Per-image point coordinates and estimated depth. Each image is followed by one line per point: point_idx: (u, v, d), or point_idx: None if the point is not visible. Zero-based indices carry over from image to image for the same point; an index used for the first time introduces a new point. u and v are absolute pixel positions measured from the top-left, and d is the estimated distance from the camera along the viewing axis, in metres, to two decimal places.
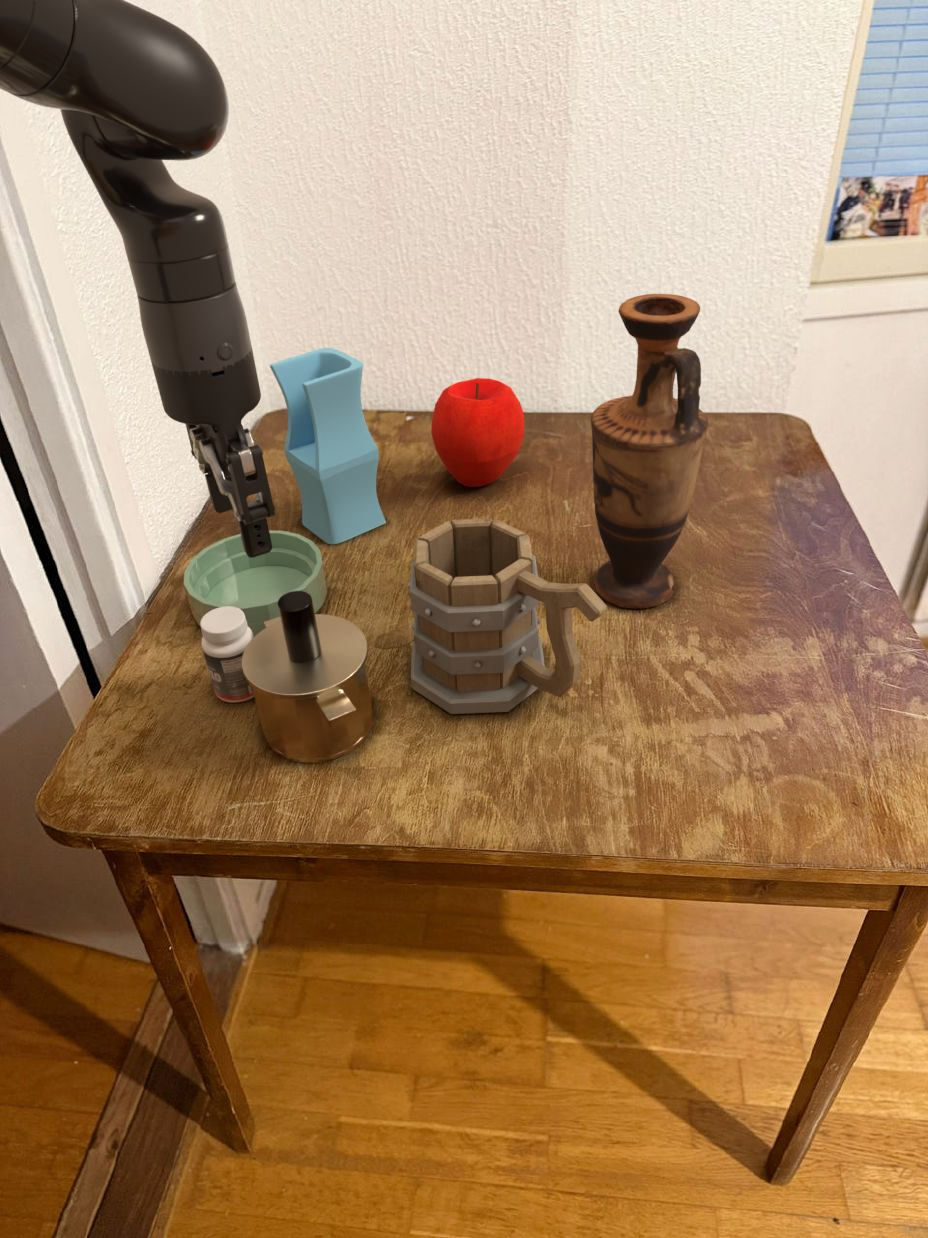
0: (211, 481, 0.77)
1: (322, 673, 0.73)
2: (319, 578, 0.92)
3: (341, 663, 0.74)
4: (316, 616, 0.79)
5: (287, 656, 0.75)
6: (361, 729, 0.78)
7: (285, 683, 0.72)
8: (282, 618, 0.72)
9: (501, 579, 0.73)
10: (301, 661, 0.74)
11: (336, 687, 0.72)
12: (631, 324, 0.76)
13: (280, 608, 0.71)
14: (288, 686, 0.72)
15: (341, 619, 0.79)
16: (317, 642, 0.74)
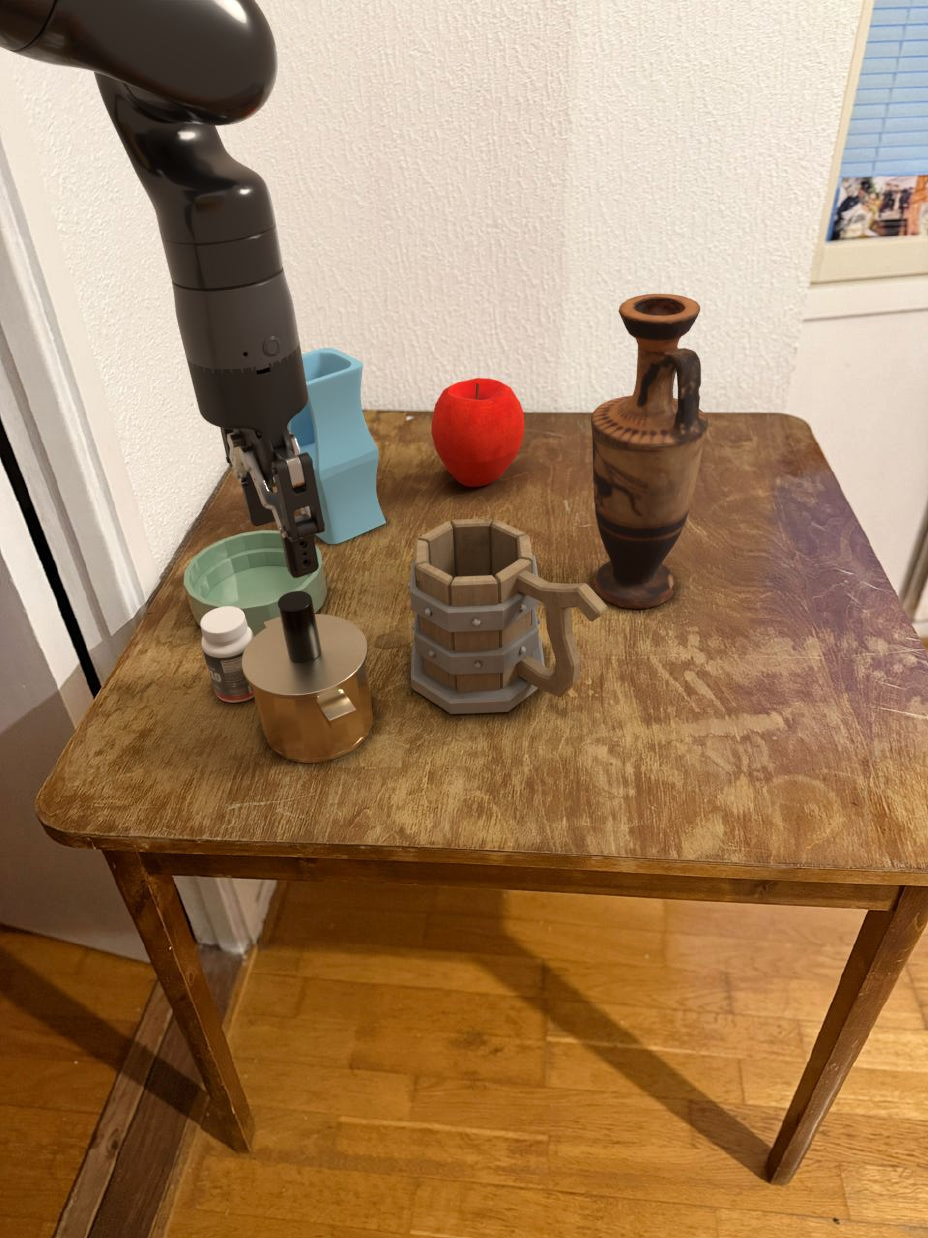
0: (248, 491, 0.69)
1: (322, 673, 0.73)
2: (319, 578, 0.92)
3: (341, 663, 0.74)
4: (316, 616, 0.79)
5: (287, 656, 0.75)
6: (361, 729, 0.78)
7: (285, 683, 0.72)
8: (282, 618, 0.72)
9: (501, 579, 0.73)
10: (301, 661, 0.74)
11: (336, 687, 0.72)
12: (631, 324, 0.76)
13: (280, 608, 0.71)
14: (288, 686, 0.72)
15: (341, 619, 0.79)
16: (317, 642, 0.74)
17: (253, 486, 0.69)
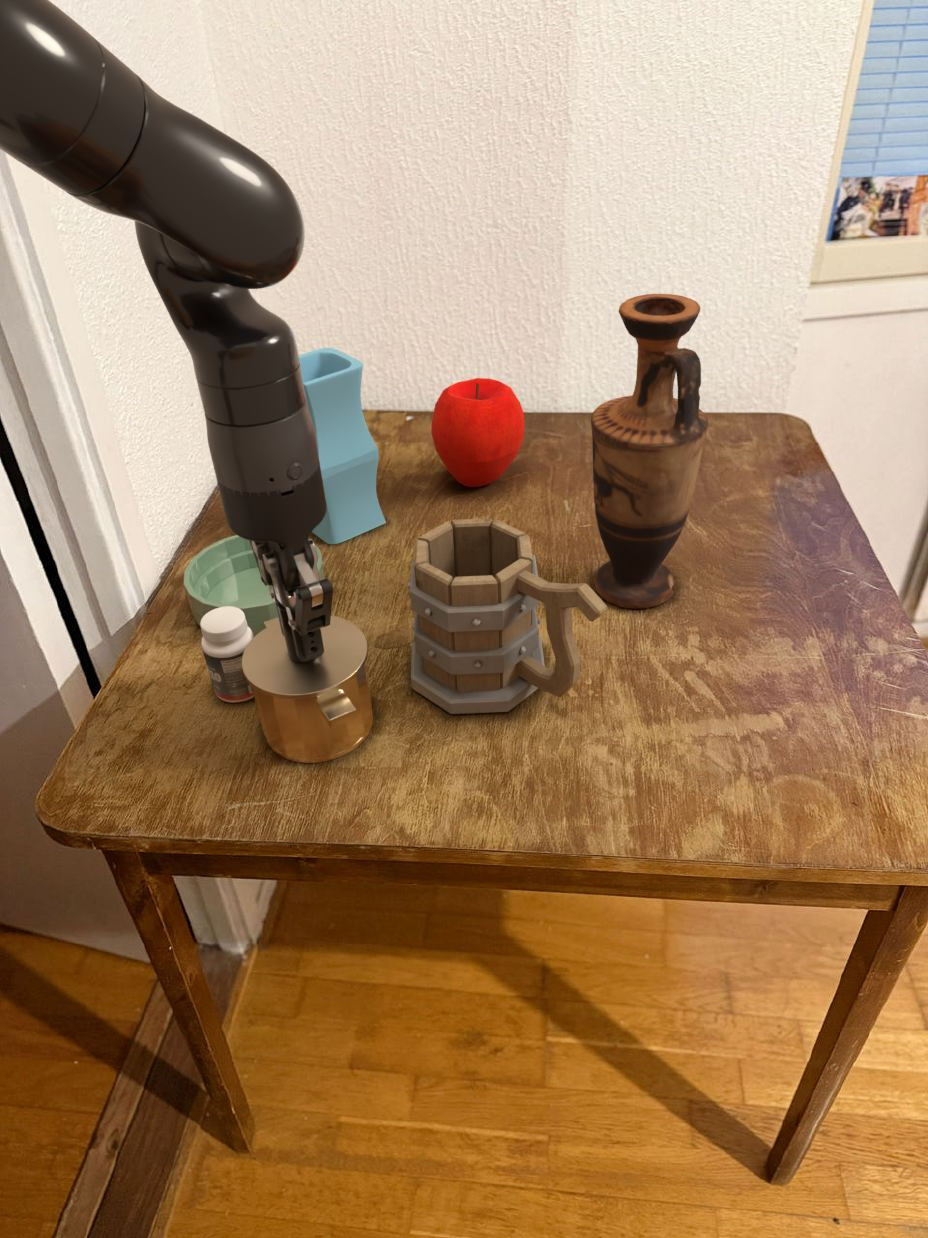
0: None
1: (322, 673, 0.73)
2: None
3: (341, 663, 0.74)
4: None
5: (287, 656, 0.75)
6: (361, 729, 0.78)
7: (285, 683, 0.72)
8: (282, 618, 0.72)
9: (501, 579, 0.73)
10: (301, 661, 0.74)
11: (336, 687, 0.72)
12: (631, 324, 0.76)
13: (280, 608, 0.71)
14: (288, 686, 0.72)
15: (341, 619, 0.79)
16: None
17: None
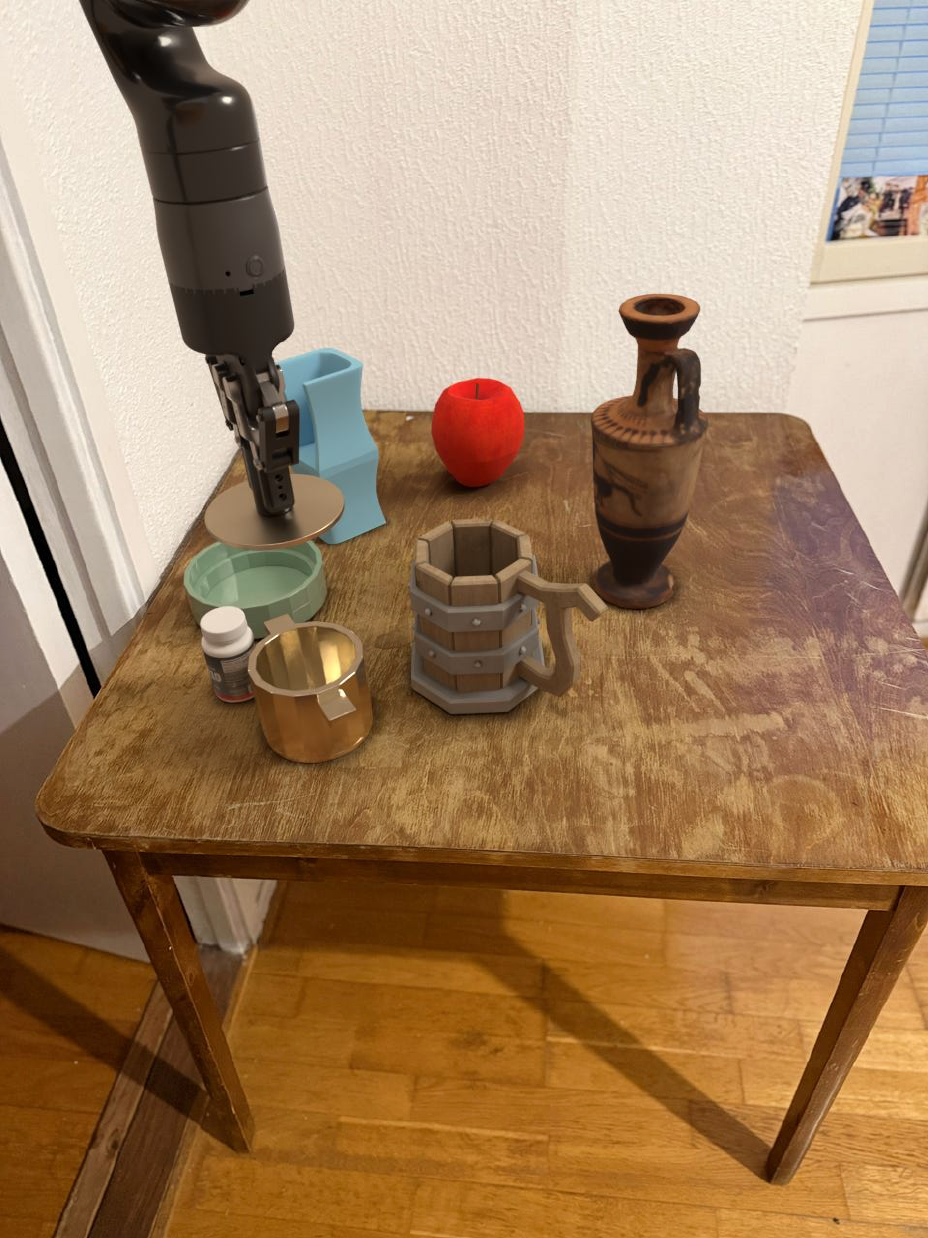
0: None
1: (293, 525, 0.66)
2: (319, 578, 0.92)
3: (314, 517, 0.67)
4: None
5: (255, 511, 0.68)
6: (361, 729, 0.78)
7: (251, 535, 0.65)
8: (248, 462, 0.65)
9: (501, 579, 0.73)
10: (270, 514, 0.67)
11: (307, 539, 0.65)
12: (631, 324, 0.76)
13: (245, 449, 0.64)
14: (254, 537, 0.65)
15: (316, 478, 0.72)
16: None
17: None
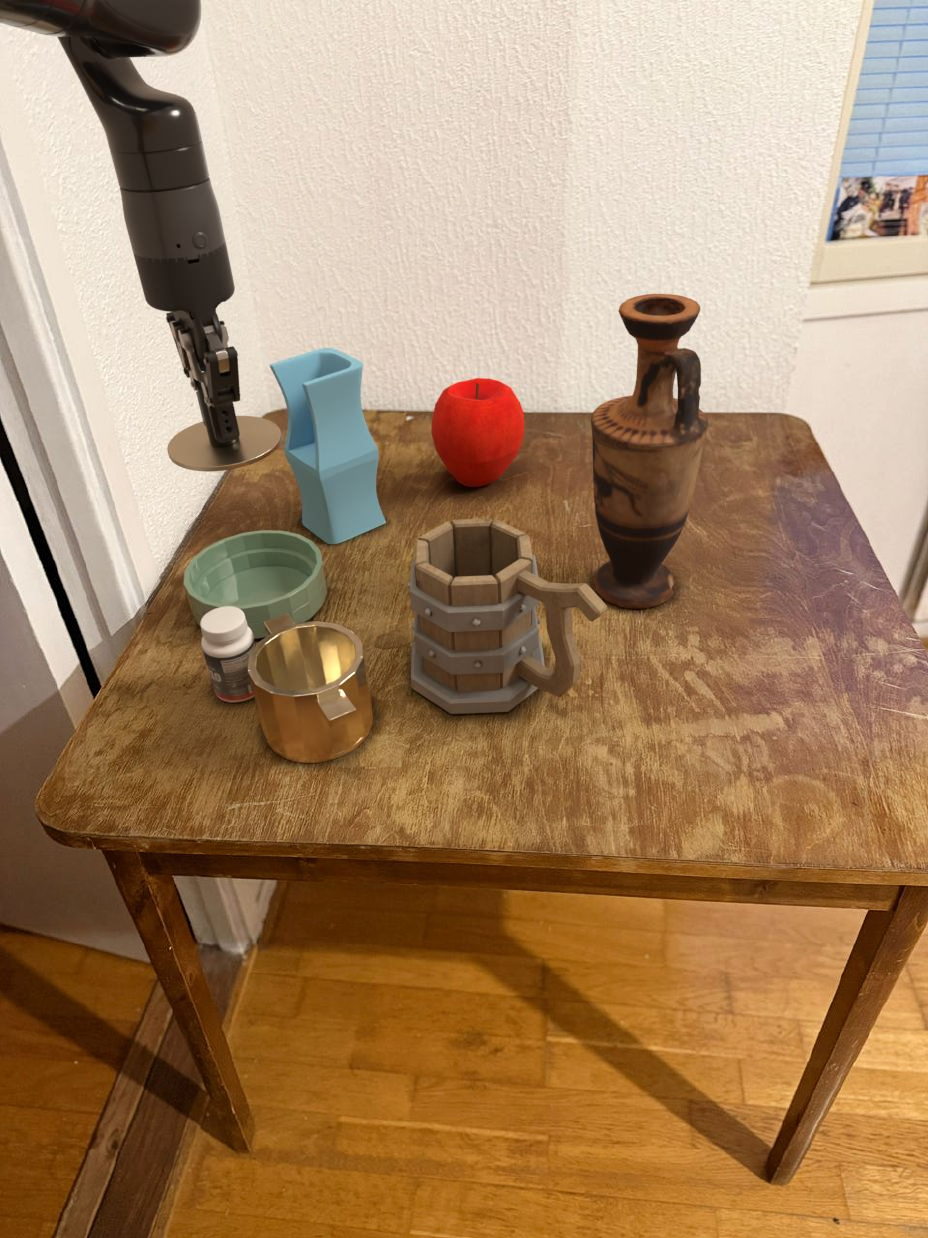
0: None
1: (238, 452, 0.82)
2: (319, 578, 0.92)
3: (255, 446, 0.83)
4: (238, 417, 0.88)
5: (208, 442, 0.84)
6: (361, 729, 0.78)
7: (204, 459, 0.81)
8: (201, 400, 0.81)
9: (501, 579, 0.73)
10: (220, 445, 0.83)
11: (249, 462, 0.81)
12: (631, 324, 0.76)
13: (198, 390, 0.80)
14: (206, 461, 0.81)
15: (260, 418, 0.88)
16: None
17: None
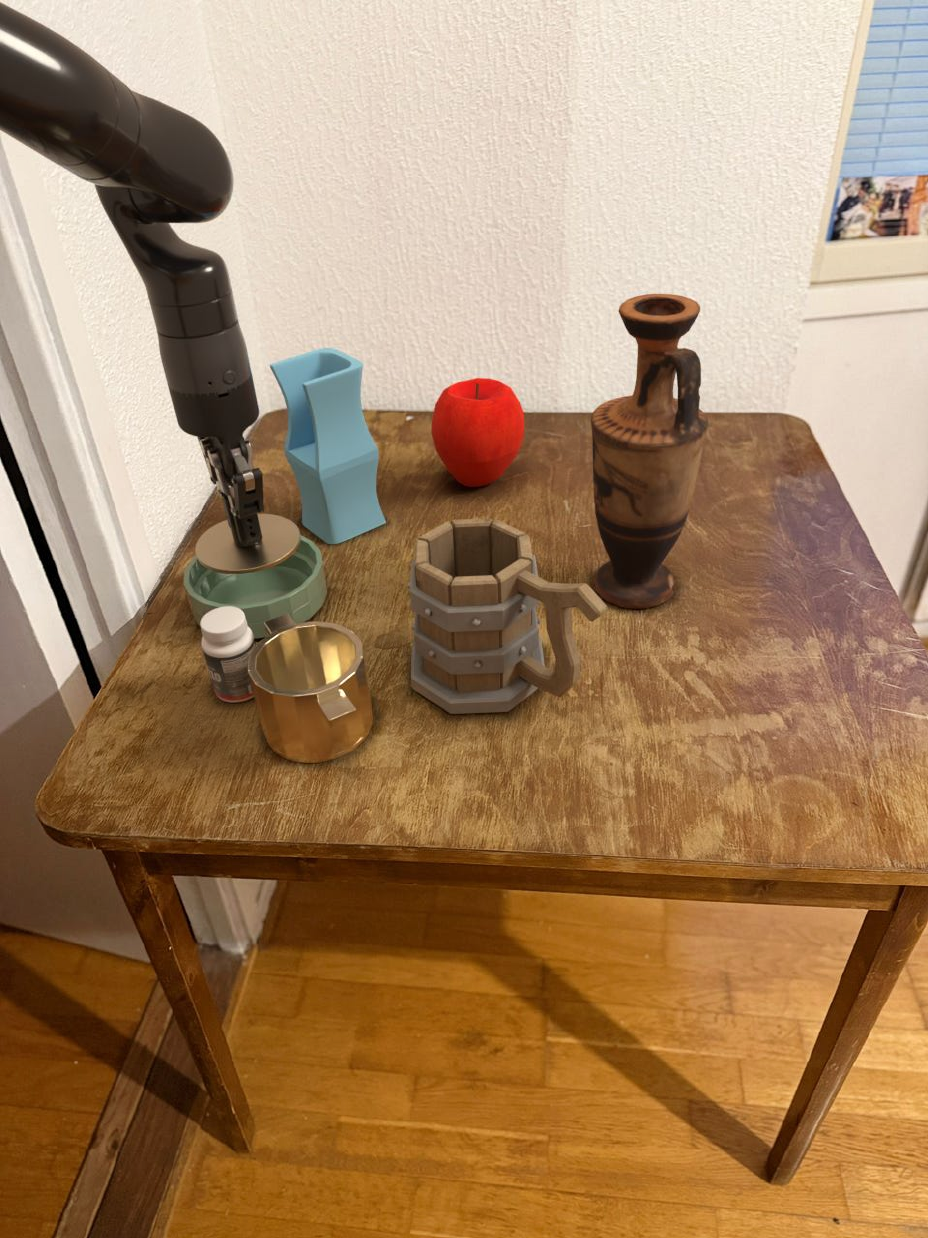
0: None
1: (261, 554, 0.89)
2: (319, 578, 0.92)
3: (277, 548, 0.90)
4: (259, 515, 0.95)
5: (233, 543, 0.91)
6: (361, 729, 0.78)
7: (230, 562, 0.88)
8: (227, 508, 0.88)
9: (501, 579, 0.73)
10: (244, 546, 0.90)
11: (271, 565, 0.88)
12: (631, 324, 0.76)
13: (225, 499, 0.87)
14: (232, 564, 0.88)
15: (280, 517, 0.95)
16: None
17: None
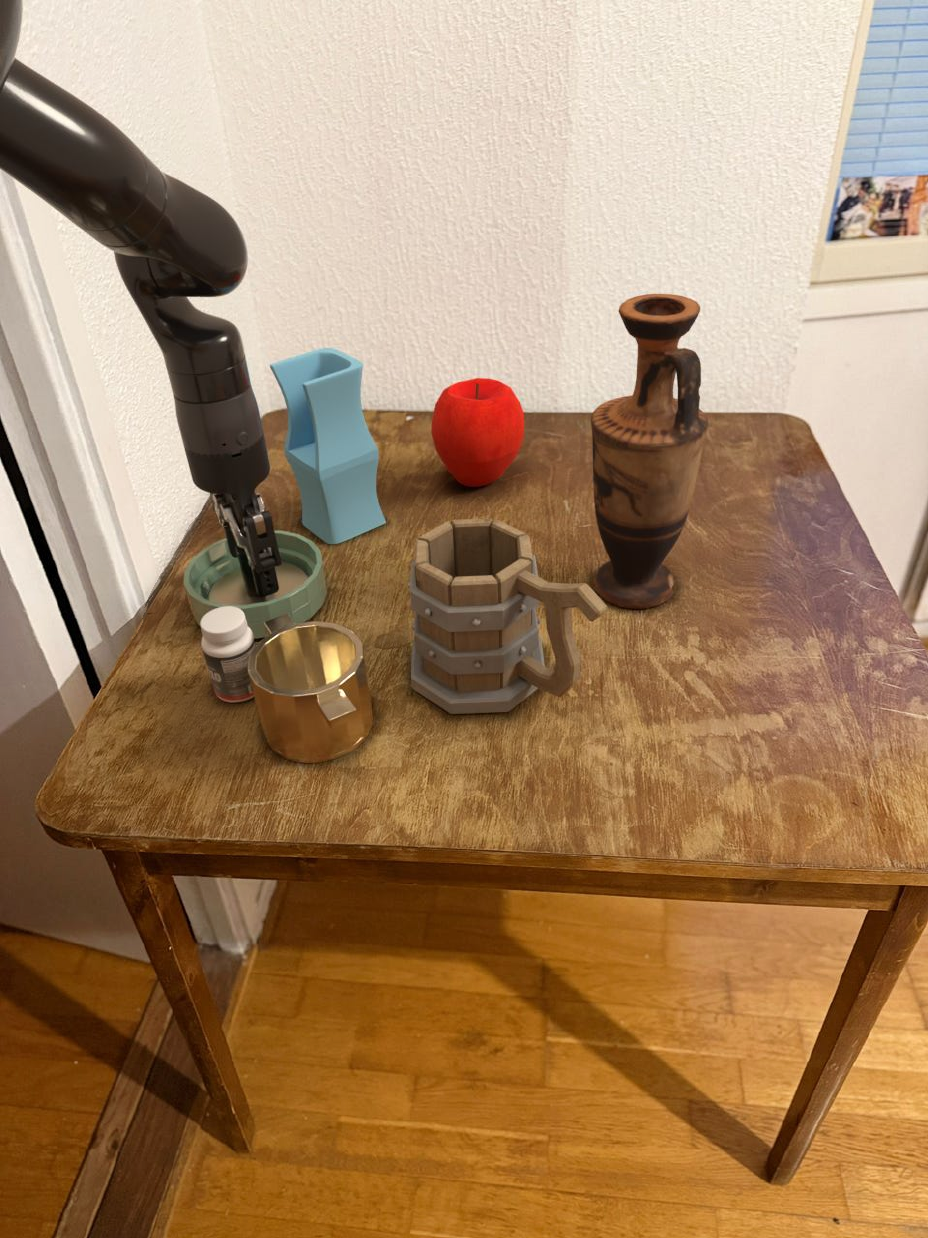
0: (229, 532, 0.94)
1: None
2: (319, 578, 0.92)
3: None
4: None
5: (245, 592, 0.95)
6: (361, 729, 0.78)
7: None
8: (239, 560, 0.92)
9: (501, 579, 0.73)
10: (255, 595, 0.94)
11: None
12: (631, 324, 0.76)
13: (237, 551, 0.91)
14: None
15: (289, 564, 0.98)
16: None
17: None
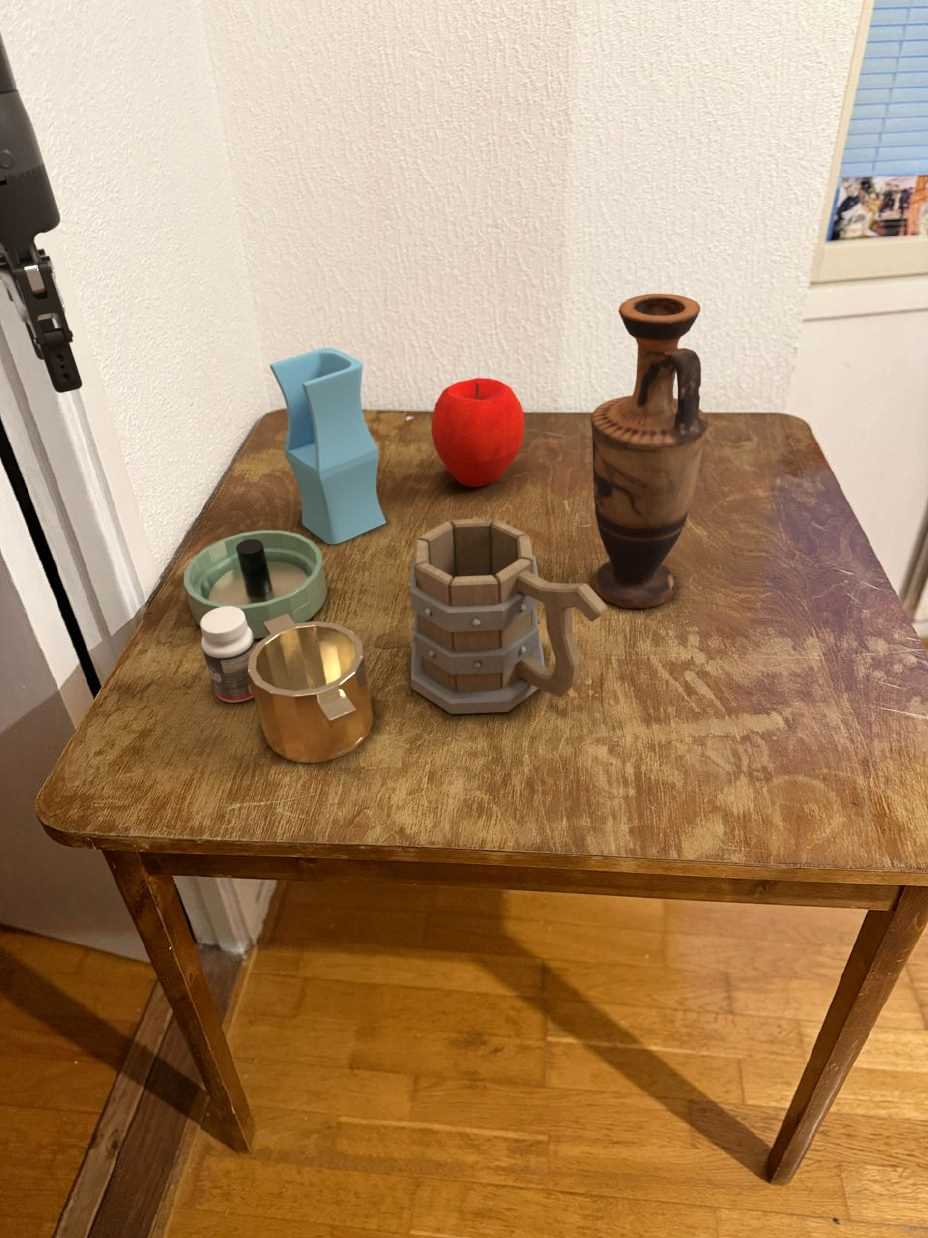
0: (29, 323, 0.76)
1: None
2: (319, 578, 0.92)
3: None
4: (270, 562, 0.99)
5: (245, 592, 0.95)
6: (361, 729, 0.78)
7: None
8: (239, 560, 0.92)
9: (501, 579, 0.73)
10: (255, 595, 0.94)
11: None
12: (631, 324, 0.76)
13: (237, 551, 0.91)
14: None
15: (289, 564, 0.98)
16: (268, 580, 0.94)
17: None
